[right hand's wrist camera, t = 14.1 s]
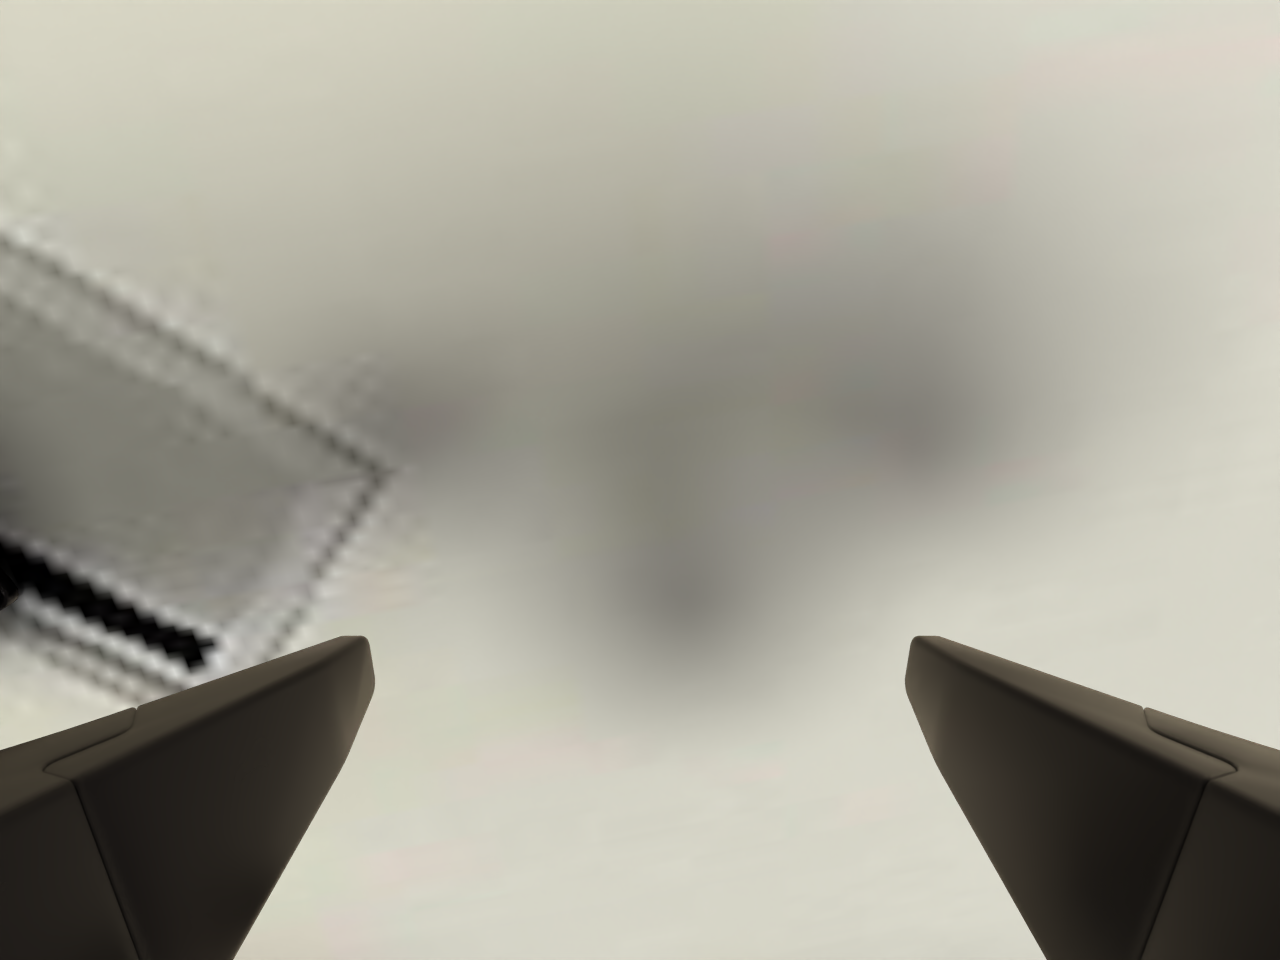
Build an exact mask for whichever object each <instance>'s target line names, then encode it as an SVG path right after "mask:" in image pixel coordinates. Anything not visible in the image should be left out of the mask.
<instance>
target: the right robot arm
mask: <svg viewBox="0 0 1280 960" xmlns="http://www.w3.org/2000/svg"><path fill="white" fill-rule="evenodd" d="M18 595H19V592H18V588H17V586H16V585H15V583H14V582H13V581H12V580H11V579H10V578H9V576H8V575H7V574H6V573H5V572H4V571H3V570H2V569H1V567H0V610H2V609H3V608H5V607H7V606H8V605H10V604H11V603H13V602H14V601H16V600H17V598H18ZM374 687H375V675H374V669H373V663H372V657H371V651H370V645H369V642H368V640H367V638H366V637H364V636H340V637H337V638H334V639H332V640H329V641H326V642H323V643H320V644H317V645H314V646H311V647H308V648H306V649H303V650H300V651H297V652H294V653H291V654H288V655H285V656H282V657H279V658H277V659H274V660H271V661H268V662H265V663H262V664H259V665H256V666H253V667H250V668H248V669H245V670H242V671H239V672H236V673H233V674H230V675H227V676H224V677H222V678H219V679H216V680H213V681H210V682H207V683H204V684H201V685H198V686H195V687H193V688H190V689H187V690H184V691H181V692H178V693H175V694H172V695H169V696H166V697H164V698H161V699H158V700H155V701H152V702H149V703H146V704H143V705H140V706H139V707H138V708H137V710H136V709H135V708H129V709H126V710H123V711H120V712H117V713H114V714H112V715H109V716H106V717H103V718H100V719H97V720H94V721H91V722H88V723H85V724H82V725H79V726H76V727H73V728H70V729H67V730H63V731H60V732H57V733H54V734H51V735H48V736H44V737H41V738H38V739H35V740H32V741H29V742H25V743H22V744H19V745H16V746H13V747H9V748H6V749H3V750H0V960H233V959H234V957H235V956H236V954H237V952H238V950H239V948H240V947H241V945H242V943H243V941H244V940H245V938H246V936H247V934H248V933H249V931H250V929H251V927H252V926H253V924H254V922H255V920H256V919H257V917H258V915H259V913H260V911H261V910H262V908H263V906H264V904H265V903H266V901H267V899H268V897H269V896H270V894H271V892H272V890H273V889H274V887H275V885H276V883H277V881H278V880H279V878H280V876H281V874H282V873H283V871H284V869H285V867H286V866H287V864H288V862H289V860H290V859H291V857H292V855H293V853H294V851H295V850H296V848H297V846H298V844H299V843H300V841H301V839H302V837H303V836H304V834H305V832H306V830H307V829H308V827H309V825H310V823H311V822H312V820H313V818H314V816H315V814H316V813H317V811H318V809H319V807H320V806H321V804H322V802H323V800H324V799H325V797H326V795H327V793H328V792H329V790H330V788H331V786H332V784H333V783H334V781H335V779H336V777H337V776H338V774H339V772H340V770H341V768H342V766H343V764H344V763H345V760H346V758H347V756H348V754H349V752H350V749H351V747H352V744H353V742H354V739H355V737H356V735H357V732H358V730H359V727H360V725H361V722H362V720H363V718H364V715H365V713H366V710H367V708H368V705H369V703H370V701H371V698H372V696H373V692H374ZM905 687H906V692H907V696H908V698H909V701H910V703H911V705H912V708H913V710H914V713H915V715H916V718H917V720H918V722H919V725H920V727H921V730H922V732H923V735H924V737H925V739H926V742H927V744H928V747H929V749H930V752H931V754H932V756H933V758H934V760H935V763H936V764H937V766H938V768H939V770H940V772H941V774H942V776H943V777H944V779H945V781H946V783H947V784H948V786H949V788H950V790H951V792H952V793H953V795H954V797H955V799H956V800H957V802H958V804H959V806H960V807H961V809H962V811H963V813H964V814H965V816H966V818H967V820H968V822H969V823H970V825H971V827H972V829H973V830H974V832H975V834H976V836H977V837H978V839H979V841H980V843H981V844H982V846H983V848H984V850H985V851H986V853H987V855H988V857H989V859H990V860H991V862H992V864H993V866H994V867H995V869H996V871H997V873H998V874H999V876H1000V878H1001V880H1002V881H1003V883H1004V885H1005V887H1006V889H1007V890H1008V892H1009V894H1010V896H1011V897H1012V899H1013V901H1014V903H1015V904H1016V906H1017V908H1018V910H1019V911H1020V913H1021V915H1022V917H1023V918H1024V920H1025V922H1026V924H1027V926H1028V927H1029V929H1030V931H1031V933H1032V934H1033V936H1034V938H1035V940H1036V941H1037V943H1038V945H1039V947H1040V948H1041V950H1042V952H1043V954H1044V956H1045V957H1046V959H1047V960H1280V750H1277V749H1274V748H1271V747H1267V746H1264V745H1261V744H1258V743H1255V742H1251V741H1248V740H1245V739H1242V738H1239V737H1236V736H1232V735H1229V734H1226V733H1223V732H1220V731H1217V730H1213V729H1210V728H1207V727H1204V726H1201V725H1198V724H1195V723H1192V722H1189V721H1186V720H1183V719H1180V718H1177V717H1174V716H1171V715H1168V714H1166V713H1163V712H1160V711H1157V710H1154V709H1151V708H1145V709H1144V710H1143V708H1142V707H1141V706H1140V705H1137V704H1134V703H1131V702H1128V701H1125V700H1122V699H1119V698H1116V697H1114V696H1111V695H1108V694H1105V693H1102V692H1099V691H1096V690H1093V689H1090V688H1087V687H1085V686H1082V685H1079V684H1076V683H1073V682H1070V681H1067V680H1064V679H1061V678H1058V677H1056V676H1053V675H1050V674H1047V673H1044V672H1041V671H1038V670H1035V669H1032V668H1030V667H1027V666H1024V665H1021V664H1018V663H1015V662H1012V661H1009V660H1006V659H1003V658H1001V657H998V656H995V655H992V654H989V653H986V652H983V651H980V650H977V649H974V648H972V647H969V646H966V645H963V644H960V643H957V642H954V641H951V640H948V639H946V638H943V637H940V636H916V637H914V638H913V640H912V642H911V645H910V651H909V657H908V663H907V669H906V675H905Z"/></svg>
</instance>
